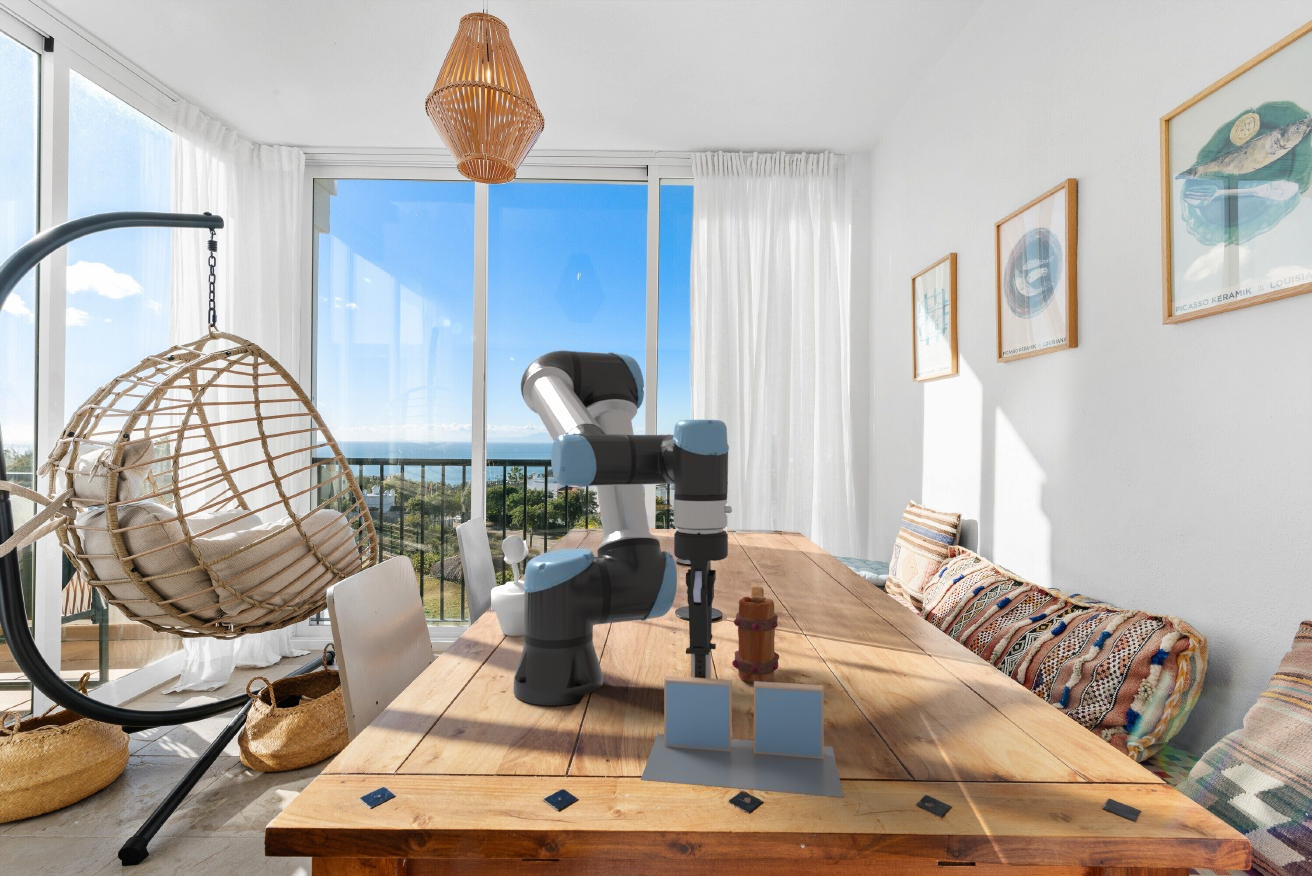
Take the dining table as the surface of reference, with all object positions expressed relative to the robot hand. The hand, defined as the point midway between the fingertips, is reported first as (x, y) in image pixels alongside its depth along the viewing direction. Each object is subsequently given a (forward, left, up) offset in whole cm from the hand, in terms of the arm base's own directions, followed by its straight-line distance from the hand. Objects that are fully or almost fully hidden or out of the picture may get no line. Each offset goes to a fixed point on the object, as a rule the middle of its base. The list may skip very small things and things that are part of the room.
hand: (701, 698), depth 93 cm
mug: (+7, +30, -7) cm, 32 cm away
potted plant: (-45, +48, -7) cm, 67 cm away
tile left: (0, -3, -5) cm, 6 cm away
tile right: (+12, -3, -5) cm, 13 cm away
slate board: (+6, -6, -7) cm, 11 cm away
